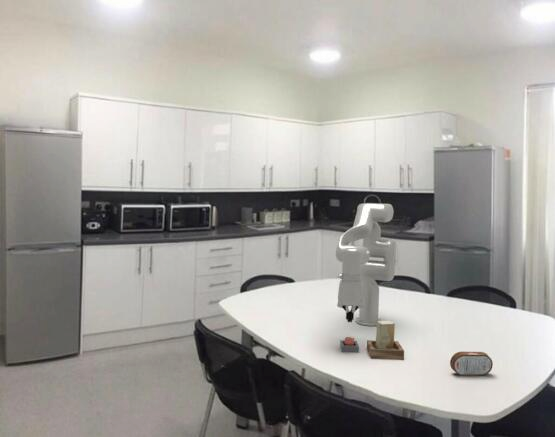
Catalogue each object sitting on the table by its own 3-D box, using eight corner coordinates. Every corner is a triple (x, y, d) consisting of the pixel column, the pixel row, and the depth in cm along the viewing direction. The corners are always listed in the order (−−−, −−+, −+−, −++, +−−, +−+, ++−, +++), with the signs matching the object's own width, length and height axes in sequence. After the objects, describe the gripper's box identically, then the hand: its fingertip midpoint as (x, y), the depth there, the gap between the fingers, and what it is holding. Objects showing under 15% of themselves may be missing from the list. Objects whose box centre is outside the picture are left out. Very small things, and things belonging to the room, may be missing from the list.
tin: (489, 372, 166) (490, 350, 166) (493, 376, 163) (494, 354, 163) (449, 373, 166) (450, 350, 165) (452, 376, 163) (453, 354, 162)
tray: (366, 348, 190) (366, 340, 189) (397, 349, 189) (398, 341, 189) (370, 358, 179) (371, 349, 178) (403, 359, 178) (404, 350, 178)
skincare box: (379, 353, 181) (380, 324, 180) (375, 349, 185) (375, 320, 184) (394, 352, 183) (395, 323, 182) (389, 348, 187) (390, 320, 186)
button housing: (340, 346, 192) (340, 340, 192) (356, 346, 192) (356, 340, 192) (341, 352, 185) (341, 346, 185) (358, 352, 185) (358, 346, 185)
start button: (344, 343, 190) (344, 337, 190) (353, 344, 190) (353, 337, 190) (345, 347, 186) (345, 340, 186) (354, 347, 186) (354, 340, 186)
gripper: (333, 278, 182) (332, 323, 183) (370, 280, 182) (369, 324, 183) (332, 275, 190) (330, 318, 191) (367, 276, 189) (366, 319, 190)
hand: (349, 321), depth 187 cm, fingers closed
